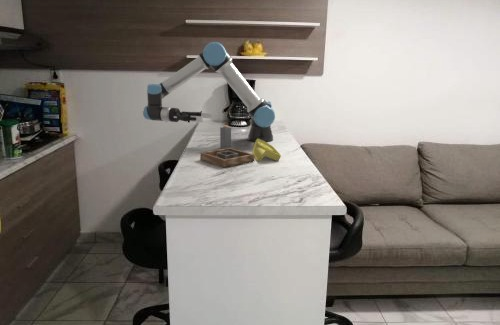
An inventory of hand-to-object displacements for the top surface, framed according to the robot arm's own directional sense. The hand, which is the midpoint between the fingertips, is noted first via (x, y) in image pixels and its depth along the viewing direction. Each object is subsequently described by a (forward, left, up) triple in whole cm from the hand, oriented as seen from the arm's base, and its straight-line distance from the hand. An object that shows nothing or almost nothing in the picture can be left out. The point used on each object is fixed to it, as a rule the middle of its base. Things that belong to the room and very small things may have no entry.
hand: (207, 117), depth 204 cm
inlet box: (+9, +27, -17) cm, 33 cm away
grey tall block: (-5, +9, -17) cm, 19 cm away
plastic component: (-11, +33, -17) cm, 38 cm away
